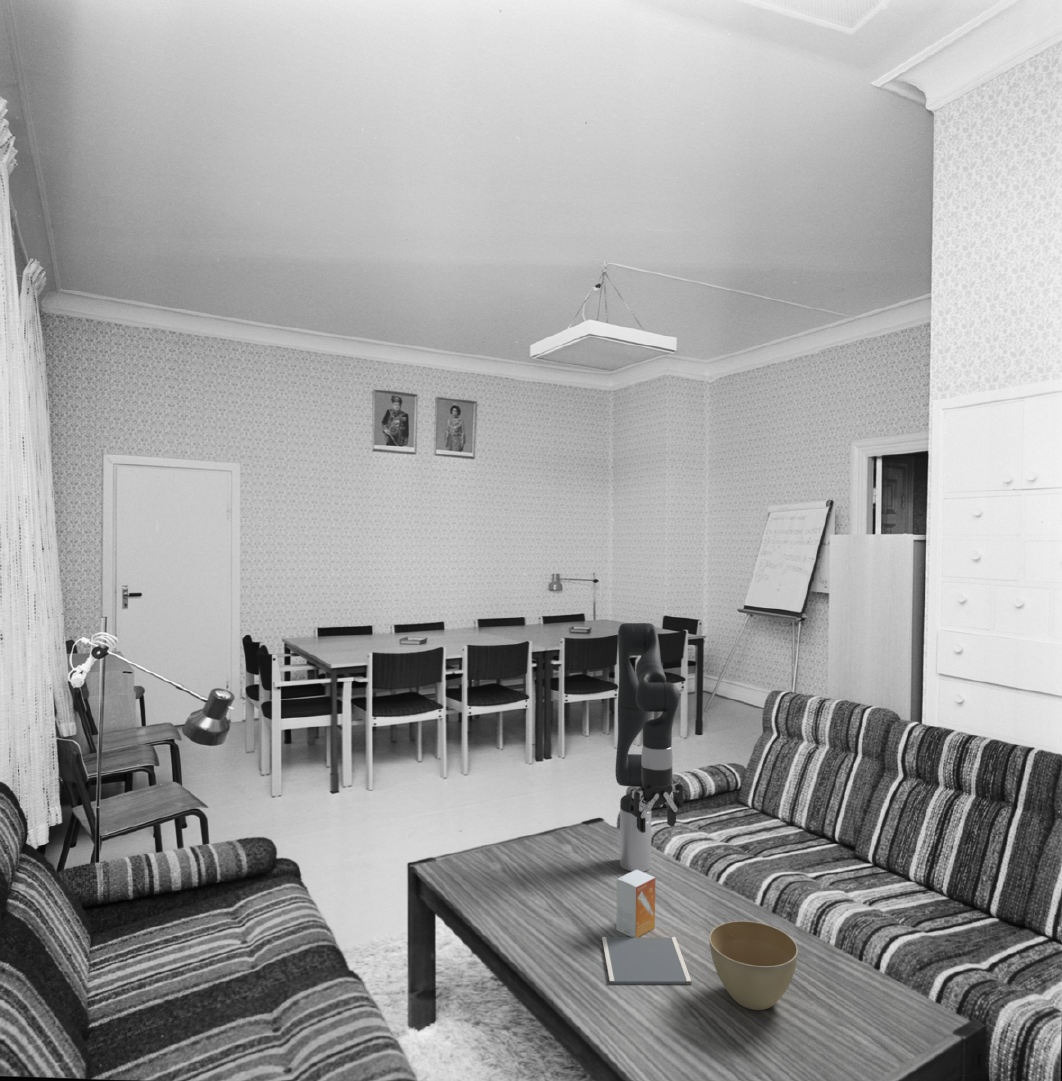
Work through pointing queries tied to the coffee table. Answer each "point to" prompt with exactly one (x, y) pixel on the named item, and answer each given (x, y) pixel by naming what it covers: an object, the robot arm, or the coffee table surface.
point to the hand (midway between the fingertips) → (656, 828)
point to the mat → (644, 961)
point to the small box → (635, 903)
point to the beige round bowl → (753, 962)
